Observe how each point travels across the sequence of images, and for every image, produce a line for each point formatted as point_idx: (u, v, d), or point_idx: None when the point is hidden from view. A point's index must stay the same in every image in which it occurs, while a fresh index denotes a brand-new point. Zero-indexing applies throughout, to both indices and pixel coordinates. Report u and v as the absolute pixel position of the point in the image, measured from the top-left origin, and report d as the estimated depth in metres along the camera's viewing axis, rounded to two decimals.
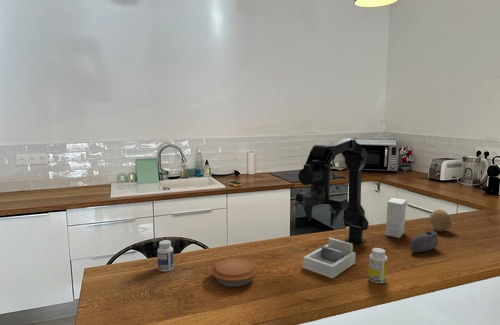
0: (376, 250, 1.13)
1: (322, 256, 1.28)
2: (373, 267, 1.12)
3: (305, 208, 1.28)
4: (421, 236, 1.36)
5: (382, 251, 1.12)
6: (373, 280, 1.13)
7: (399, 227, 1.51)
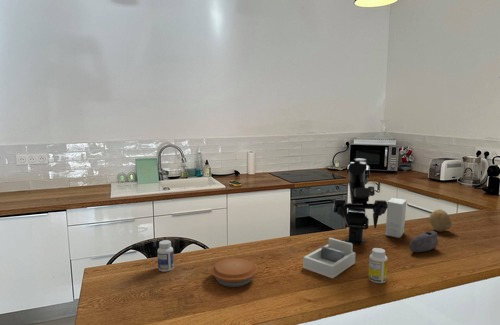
0: (376, 250, 1.13)
1: (322, 256, 1.28)
2: (373, 267, 1.12)
3: (345, 212, 1.27)
4: (421, 236, 1.36)
5: (382, 251, 1.12)
6: (373, 280, 1.13)
7: (399, 227, 1.51)
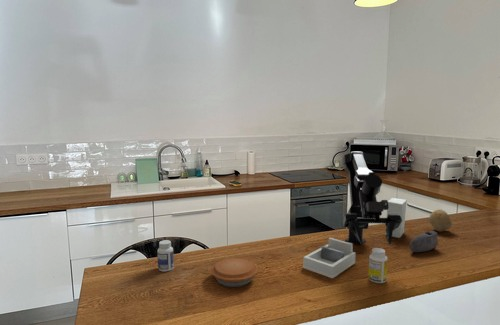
0: (376, 250, 1.13)
1: (322, 256, 1.28)
2: (373, 267, 1.12)
3: (357, 228, 1.19)
4: (421, 236, 1.36)
5: (382, 251, 1.12)
6: (373, 280, 1.13)
7: (399, 227, 1.51)
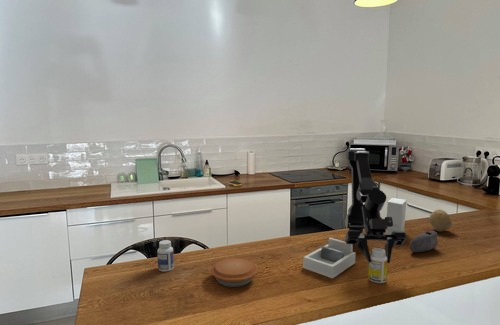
0: (376, 250, 1.13)
1: (322, 256, 1.28)
2: (373, 267, 1.12)
3: (365, 246, 1.14)
4: (421, 236, 1.36)
5: (382, 251, 1.12)
6: (373, 280, 1.13)
7: (399, 227, 1.51)
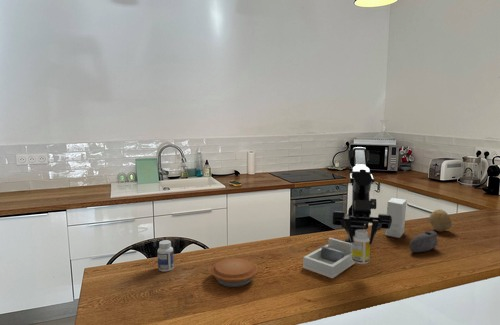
0: (358, 231, 1.14)
1: (322, 256, 1.28)
2: (355, 248, 1.14)
3: (349, 226, 1.16)
4: (421, 236, 1.36)
5: (364, 232, 1.13)
6: (355, 260, 1.14)
7: (399, 227, 1.51)
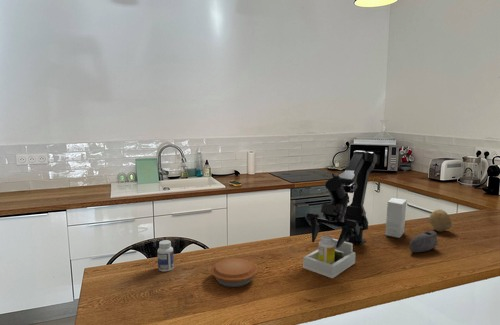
0: (323, 237, 1.22)
1: None
2: (318, 252, 1.22)
3: (313, 227, 1.25)
4: (421, 236, 1.36)
5: (328, 238, 1.20)
6: None
7: (399, 227, 1.51)
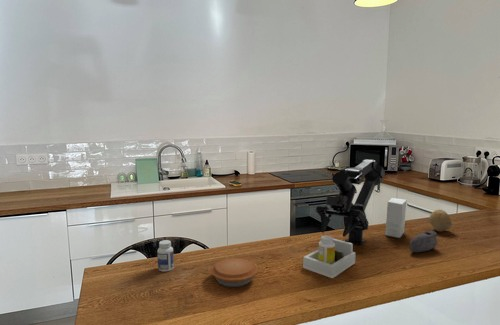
0: (323, 237, 1.22)
1: None
2: (319, 252, 1.22)
3: (322, 218, 1.35)
4: (420, 236, 1.36)
5: (328, 238, 1.20)
6: None
7: (399, 227, 1.51)
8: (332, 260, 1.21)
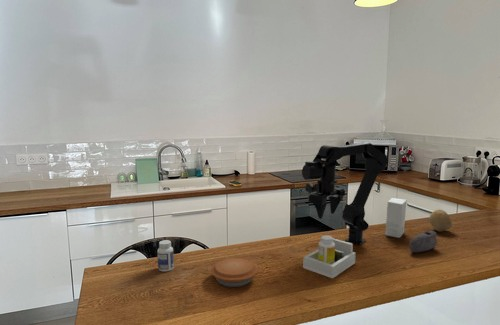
0: (323, 237, 1.22)
1: None
2: (319, 252, 1.22)
3: None
4: (420, 236, 1.36)
5: (328, 238, 1.20)
6: None
7: (399, 227, 1.51)
8: (332, 260, 1.21)
